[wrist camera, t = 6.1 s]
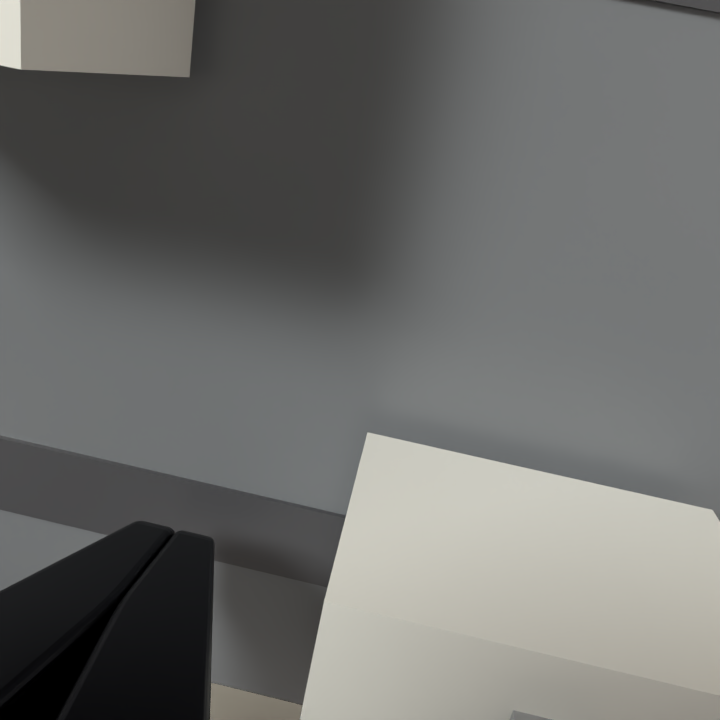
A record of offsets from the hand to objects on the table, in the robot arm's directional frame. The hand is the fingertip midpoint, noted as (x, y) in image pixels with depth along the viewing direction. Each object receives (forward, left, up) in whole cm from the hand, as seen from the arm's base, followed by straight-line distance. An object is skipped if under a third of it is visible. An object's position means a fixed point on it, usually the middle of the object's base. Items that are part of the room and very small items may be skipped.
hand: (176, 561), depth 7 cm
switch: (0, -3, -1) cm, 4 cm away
